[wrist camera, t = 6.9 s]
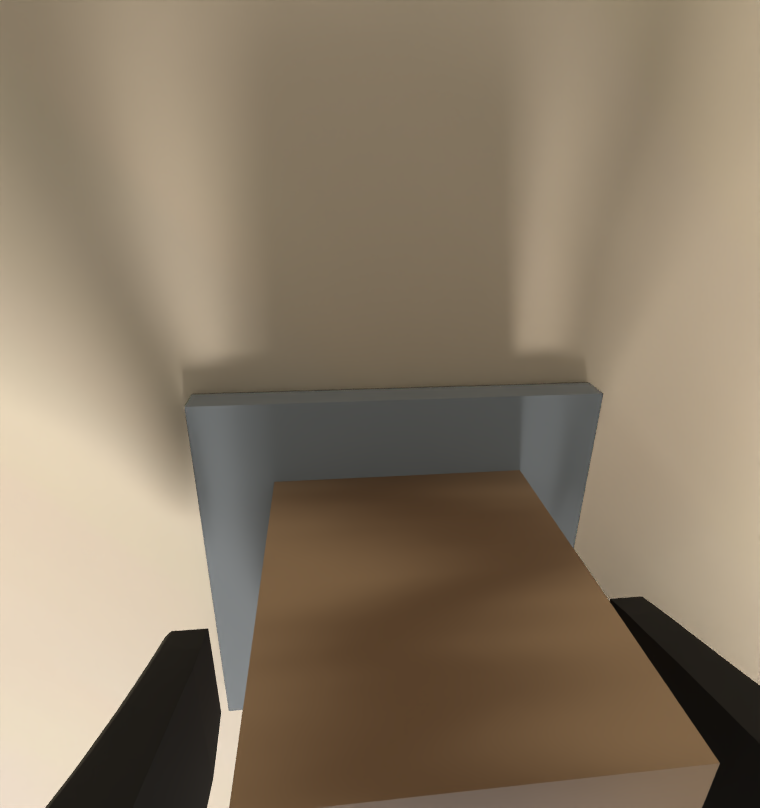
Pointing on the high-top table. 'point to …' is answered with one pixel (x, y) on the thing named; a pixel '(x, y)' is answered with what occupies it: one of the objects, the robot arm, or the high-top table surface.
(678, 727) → the walnut block
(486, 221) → the high-top table surface
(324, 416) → the slate coaster
